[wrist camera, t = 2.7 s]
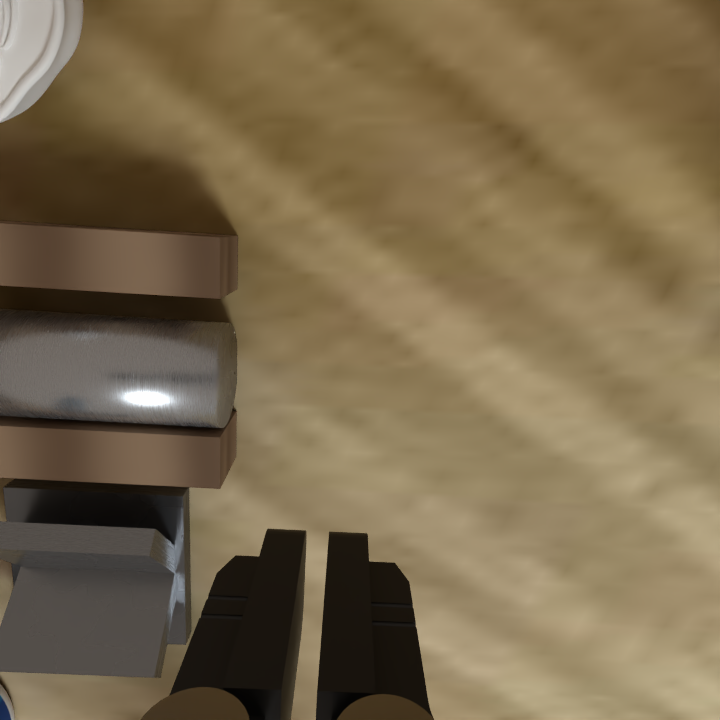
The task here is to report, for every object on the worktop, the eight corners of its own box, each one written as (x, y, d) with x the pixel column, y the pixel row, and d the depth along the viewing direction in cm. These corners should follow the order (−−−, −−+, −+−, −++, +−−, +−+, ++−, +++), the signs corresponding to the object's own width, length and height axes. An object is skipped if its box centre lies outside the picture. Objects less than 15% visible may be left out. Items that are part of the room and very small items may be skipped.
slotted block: (237, 235, 25) (219, 237, 22) (236, 456, 28) (220, 488, 24) (-68, 216, 25) (-135, 214, 21) (-39, 442, 27) (-94, 472, 24)
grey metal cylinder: (235, 306, 25) (210, 352, 21) (239, 393, 28) (217, 449, 23) (-22, 290, 25) (-100, 333, 21) (3, 379, 27) (-63, 434, 23)
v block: (188, 487, 28) (159, 533, 24) (191, 631, 30) (165, 697, 26) (15, 478, 28) (-46, 524, 24) (30, 624, 30) (-23, 690, 26)
